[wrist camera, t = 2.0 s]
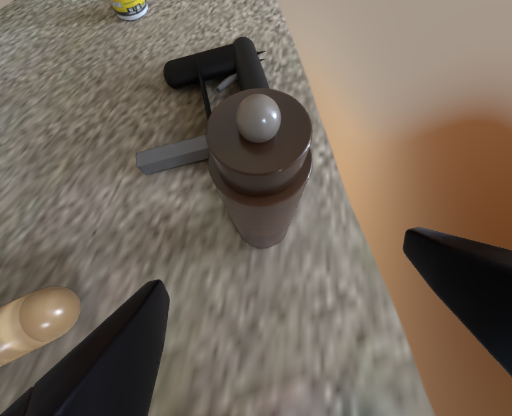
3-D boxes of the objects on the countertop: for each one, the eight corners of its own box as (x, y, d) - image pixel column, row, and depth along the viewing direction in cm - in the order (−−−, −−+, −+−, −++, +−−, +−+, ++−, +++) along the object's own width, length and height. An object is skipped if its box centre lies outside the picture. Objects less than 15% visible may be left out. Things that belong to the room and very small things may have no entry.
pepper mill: (297, 234, 20) (365, 127, 6) (250, 257, 19) (215, 193, 6) (273, 191, 21) (288, 33, 8) (229, 211, 21) (164, 78, 7)
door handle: (133, 220, 18) (316, 172, 18) (127, 61, 25) (260, 25, 25) (154, 229, 21) (311, 188, 21) (144, 86, 28) (262, 54, 28)
